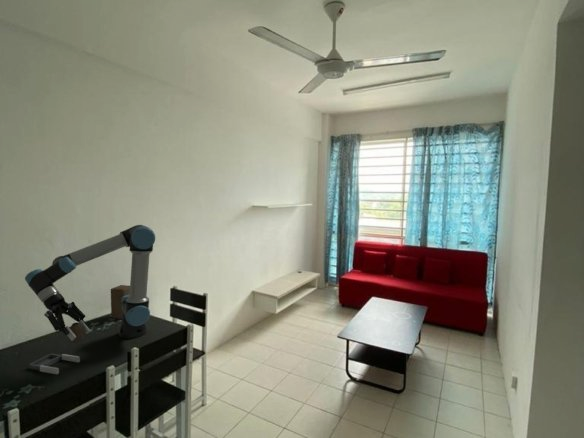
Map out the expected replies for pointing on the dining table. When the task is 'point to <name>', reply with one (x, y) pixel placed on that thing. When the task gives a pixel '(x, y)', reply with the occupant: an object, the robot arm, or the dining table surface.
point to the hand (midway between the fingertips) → (81, 335)
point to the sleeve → (56, 370)
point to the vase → (76, 333)
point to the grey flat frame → (45, 361)
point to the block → (118, 300)
